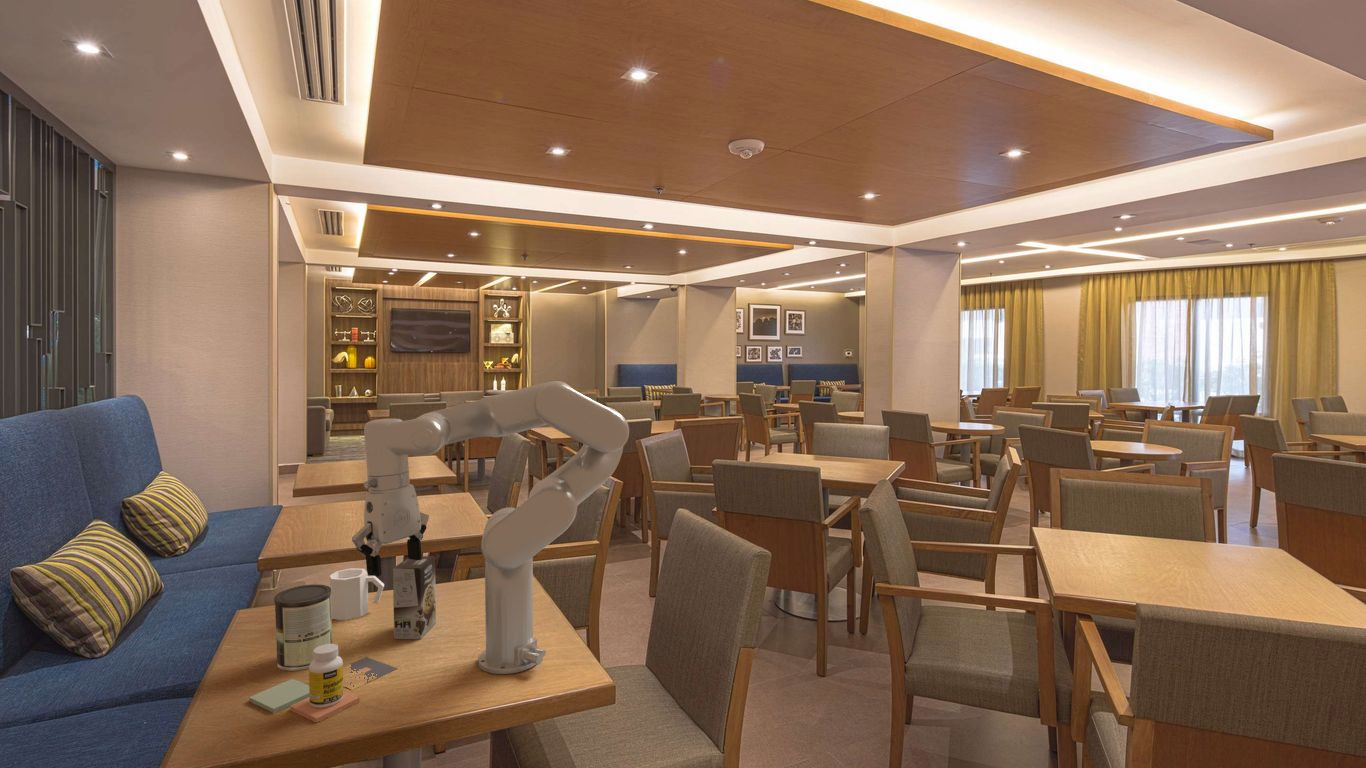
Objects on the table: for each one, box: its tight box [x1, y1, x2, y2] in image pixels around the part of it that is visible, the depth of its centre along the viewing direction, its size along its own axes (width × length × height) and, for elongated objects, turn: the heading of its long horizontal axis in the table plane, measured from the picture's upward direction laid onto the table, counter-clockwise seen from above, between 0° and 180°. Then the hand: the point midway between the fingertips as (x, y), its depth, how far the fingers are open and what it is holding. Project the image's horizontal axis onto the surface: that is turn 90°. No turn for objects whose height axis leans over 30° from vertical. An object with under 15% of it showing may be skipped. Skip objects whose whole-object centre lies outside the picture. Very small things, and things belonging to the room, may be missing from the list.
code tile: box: [350, 656, 399, 687], centre depth 136 cm, size 10×10×1 cm
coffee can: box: [273, 584, 333, 672], centre depth 141 cm, size 10×10×14 cm
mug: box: [329, 567, 385, 621], centre depth 166 cm, size 12×9×10 cm
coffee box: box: [392, 555, 437, 640], centre depth 155 cm, size 9×6×16 cm
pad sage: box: [248, 678, 310, 714], centre depth 127 cm, size 8×8×1 cm
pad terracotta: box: [289, 690, 360, 723], centre depth 123 cm, size 8×8×1 cm
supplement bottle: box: [308, 643, 344, 708], centre depth 123 cm, size 5×5×10 cm
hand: (395, 566), depth 136 cm, fingers open, 9 cm apart
